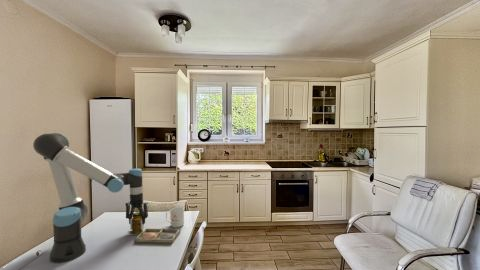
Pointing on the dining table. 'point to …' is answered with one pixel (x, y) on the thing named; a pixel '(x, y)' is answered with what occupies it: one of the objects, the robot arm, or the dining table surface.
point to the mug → (176, 217)
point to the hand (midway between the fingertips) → (137, 228)
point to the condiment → (136, 224)
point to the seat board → (157, 236)
